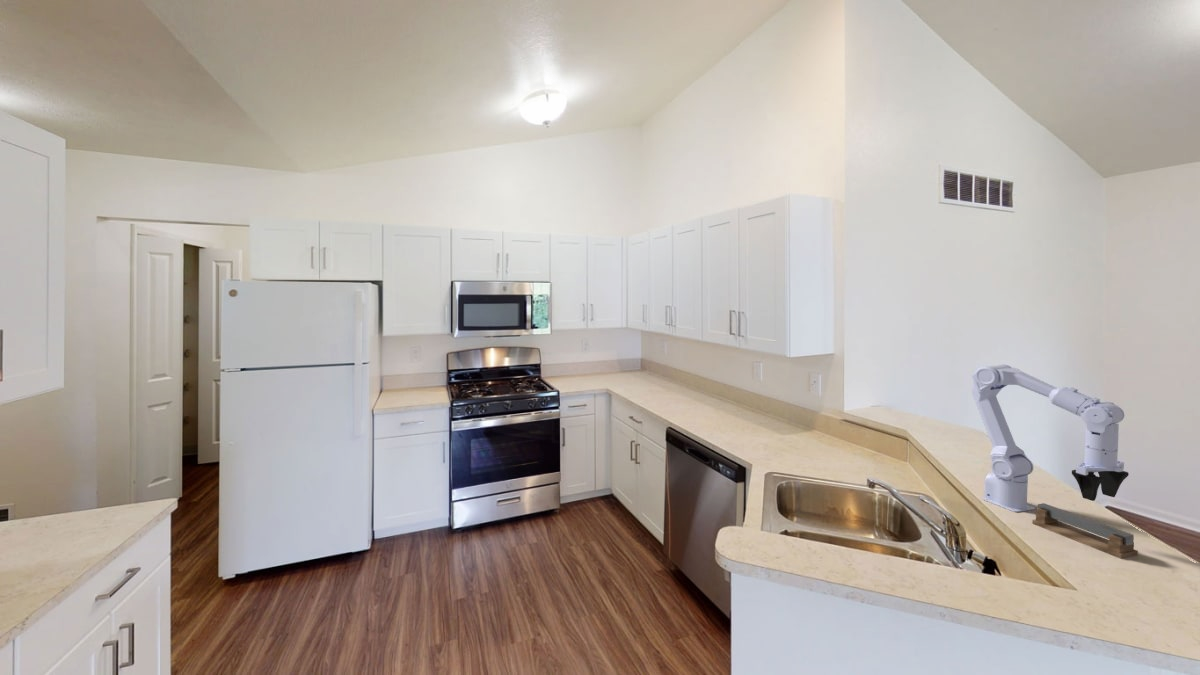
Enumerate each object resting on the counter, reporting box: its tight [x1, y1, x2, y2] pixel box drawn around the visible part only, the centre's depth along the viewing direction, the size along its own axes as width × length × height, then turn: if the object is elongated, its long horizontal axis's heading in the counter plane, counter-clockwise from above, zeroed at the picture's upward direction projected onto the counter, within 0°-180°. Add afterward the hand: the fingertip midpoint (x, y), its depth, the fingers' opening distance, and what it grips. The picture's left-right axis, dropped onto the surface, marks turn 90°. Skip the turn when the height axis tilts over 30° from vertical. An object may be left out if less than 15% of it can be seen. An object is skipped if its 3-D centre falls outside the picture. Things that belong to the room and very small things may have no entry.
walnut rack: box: [1031, 507, 1139, 559], centre depth 114 cm, size 18×6×5 cm, turn 13°
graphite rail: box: [1037, 503, 1134, 546], centre depth 114 cm, size 18×2×2 cm, turn 13°
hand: (1098, 497), depth 115 cm, fingers open, 7 cm apart
